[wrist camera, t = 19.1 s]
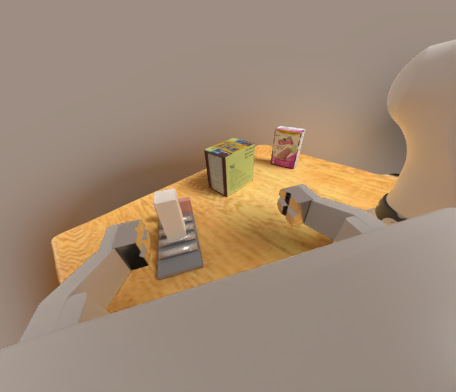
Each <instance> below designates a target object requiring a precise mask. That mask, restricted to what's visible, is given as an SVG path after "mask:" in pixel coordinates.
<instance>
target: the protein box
mask: <svg viewBox="0 0 456 392" xmlns="http://www.w3.org/2000/svg"><path fill="white" fill-rule="evenodd" d="M254 150H255V144H254V143H251V142H248V141H244V140H240V139H236V138H232V139H230V140H227V141H224V142H222V143H219V144H217V145H214V146H212V147H209V148H207V149H205V150H204V151H205V159H206V167H207V174H208V182H209V187H210V188H212V189H214V190H216V191H217V192H219V193H221V194H223V195H225V196H226V197H228V196H230V195H231V194H233V193H234V192H236V191H237V190H239V189H240V188H242V187H243V186H245V185H246V184H248V183H249V182H251V181H252V180H253V167H254Z"/></svg>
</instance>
